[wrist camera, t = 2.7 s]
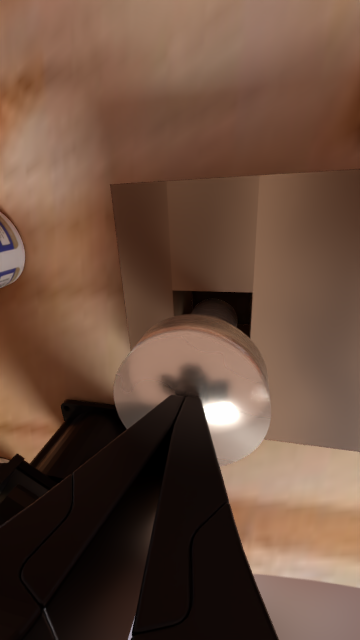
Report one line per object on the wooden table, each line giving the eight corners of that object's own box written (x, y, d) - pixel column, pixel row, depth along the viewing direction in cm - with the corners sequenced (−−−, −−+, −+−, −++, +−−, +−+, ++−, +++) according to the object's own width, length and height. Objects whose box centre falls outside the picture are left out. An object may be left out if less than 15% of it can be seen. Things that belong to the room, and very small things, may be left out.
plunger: (171, 357, 15) (122, 455, 9) (165, 274, 13) (103, 331, 8) (259, 364, 14) (264, 478, 8) (265, 275, 12) (278, 342, 7)
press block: (161, 377, 20) (139, 423, 16) (146, 187, 15) (110, 184, 11) (471, 406, 16) (545, 476, 12) (575, 163, 12) (750, 144, 7)
